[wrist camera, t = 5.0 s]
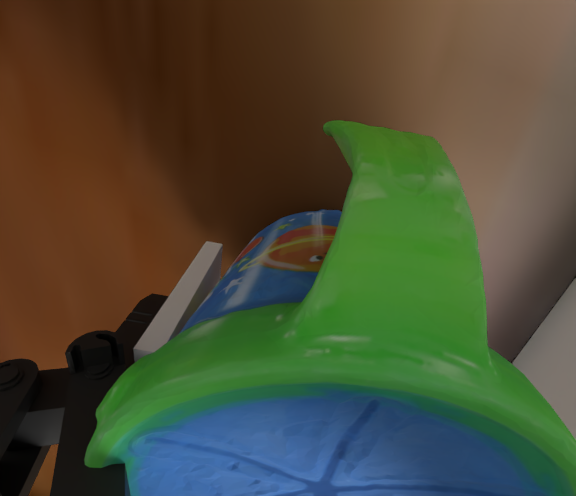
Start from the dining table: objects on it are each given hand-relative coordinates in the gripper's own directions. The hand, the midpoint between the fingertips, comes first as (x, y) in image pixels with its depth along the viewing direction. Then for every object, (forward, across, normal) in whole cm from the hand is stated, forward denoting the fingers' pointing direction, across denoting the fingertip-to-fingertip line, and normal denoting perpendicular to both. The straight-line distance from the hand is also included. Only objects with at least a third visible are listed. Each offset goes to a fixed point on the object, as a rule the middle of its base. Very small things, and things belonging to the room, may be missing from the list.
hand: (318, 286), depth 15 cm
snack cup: (+1, 0, 0) cm, 1 cm away
